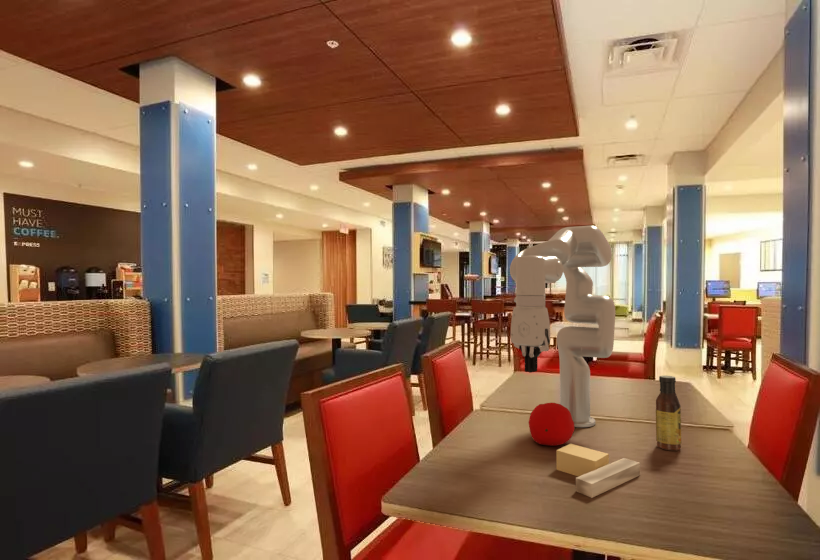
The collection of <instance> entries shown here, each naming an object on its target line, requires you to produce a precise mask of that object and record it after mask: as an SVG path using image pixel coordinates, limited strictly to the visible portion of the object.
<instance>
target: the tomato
mask: <svg viewBox="0 0 820 560" xmlns="http://www.w3.org/2000/svg"><path fill="white" fill-rule="evenodd" d="M528 427H529V433H530V436H531V438H532V439H533V441H534V442H535V443H537V444H539V445H543V446H561V445H564V444H566V443H567V442H569V441H570V440H571V439H572V436H573V434H574V431H575V427H574V422H573V420H572V416H571V413H570V411H569V410H568V409H567V408H566V407H564V406H562V405H561V404H560V403H557V402H546V403H540V404H538V405H536V406H535V407H534V408H533V410H532V411H531V413H530V415H529V419H528Z"/></svg>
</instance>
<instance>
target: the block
mask: <svg viewBox="0 0 820 560" xmlns="http://www.w3.org/2000/svg"><path fill="white" fill-rule="evenodd" d="M609 455H610V454H609V453H607V452H603V451H599V450H597V449H592V448H589V447H585V446H581V445H577V444H574V443H569V444H567V445H565V446H562V447H561V448H558V449H556V471H559V472H563V473H567V474H570V475H573V476H575V477H579V476H581V475H584V474H586V473H589V472H591V471H593V470H596V469H598V468H601V467H603V466H606V465H608V464H610V460H609V459H610V458H609V457H610V456H609Z"/></svg>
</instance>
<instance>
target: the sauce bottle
mask: <svg viewBox="0 0 820 560" xmlns="http://www.w3.org/2000/svg"><path fill="white" fill-rule="evenodd" d="M658 377H659V379H658V380H659V394H658V395H657V397H656V400H655V436H656V437H655V439H656V446H657V447H658V448H659V449H662V450H665V451H674V452H676V451H680V450H681V447H682V445H681V444H682V411H681V410H682V409H681V407H682V406H681V403H680V401H679V399H678V395H677V392H676V381H677V380H676V377H675V376H673V375H659V376H658Z"/></svg>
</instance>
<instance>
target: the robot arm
mask: <svg viewBox="0 0 820 560" xmlns="http://www.w3.org/2000/svg"><path fill="white" fill-rule="evenodd" d="M612 252H613V251H612V247H611V245H610V242H609V241H608V240H607V238H606V236H605V234H604V233H603V231H602V230H600V228H599V227H597V226H595V225H579V226H566V227H562V228H561V229H559V230H557V231H556V233H555V234H553V236H552V237H550V238H549V239H548V240H546V241H543V242H541V243H538V244H535V245H533V246H530V247H526V248H525V249H523V250H521V251H520V252H518V254H516V255H515V256H514V258H513V259H512V260H511V263H510V266H509V273H510V276H511V278H512V279H511V280H513V281H514V282H515V297H514V299H513V302H514V303H515V306H513V309H512V314H511V321H510V342H511V343H512V344H513V346H514V347H515V348H517V349H518V350H520V352H521V354H522V357H524V372H526V373H534V372H535V373H537V371H538V357H540V355H541V354H542V353H544V352H548V351H549V350H550V347H549V345H550V343H551V325H550V317H549V316H550V315H549V312H548V311H549V310H548V307H546V284H553V283H556V282H558V281H560V279H561V278H562V277H563V274H564V277H565V281H566V287H565V297H564V298H565V299H564V308H563V309H564V310H563V311H564V314H563V315H564V318H565V320H566V321H567V322H568V323H574V324H585V325H586V324H587V325H597V326H598V327H587V326H576V325H575V326H573V325H572V326H565V327H561V329H559V330H558V332H557V335H556V345H557V349H558V356H559V357H558V358H559V404H561V405H562V406H564V407H566V408H567V409H568V410H569V411H570V413H571V416H572V420H573V422H574V428H589V427H593V426H595V425H596V419H595V418H594V417H591V370H590V369H591V368H590V366H589V365H588V363H587V361H586V360H585V358H584V357H586V358H587V357H588V358H590V357H591V358H599V359H600V358H601V359H605V358H606V359H607V358H609V357H610V356H611V355H612V353H613V352H614V351H613V350H614V342H615V326H616V306H615V302H614V300H613V299H612V297H611V296H608V295H600V294H599V295H598V294H597V295H596V294H593V286H594V282H593V279H592V277H591V276H590V275H589V274H588V272H587V271H586V270H585V269H584V268H596V267H597V268H601V267H605V266H608V265H609V264H610V262H611V260H612V256H613V255H612V254H613V253H612Z"/></svg>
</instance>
